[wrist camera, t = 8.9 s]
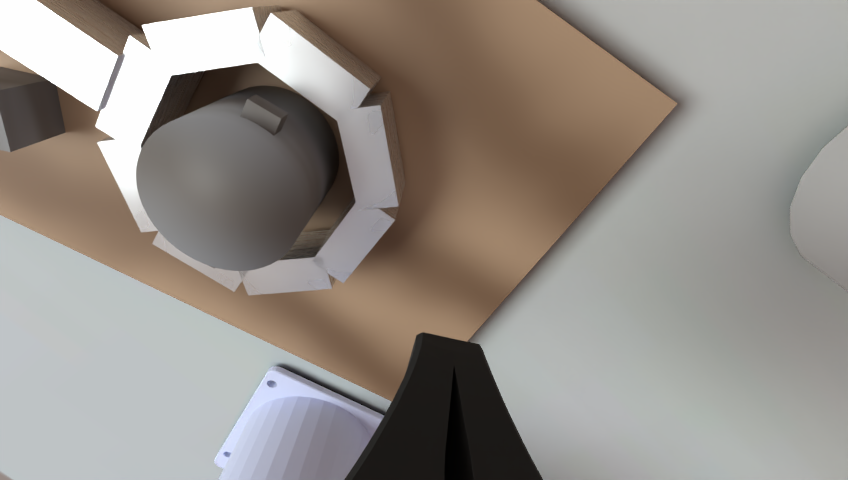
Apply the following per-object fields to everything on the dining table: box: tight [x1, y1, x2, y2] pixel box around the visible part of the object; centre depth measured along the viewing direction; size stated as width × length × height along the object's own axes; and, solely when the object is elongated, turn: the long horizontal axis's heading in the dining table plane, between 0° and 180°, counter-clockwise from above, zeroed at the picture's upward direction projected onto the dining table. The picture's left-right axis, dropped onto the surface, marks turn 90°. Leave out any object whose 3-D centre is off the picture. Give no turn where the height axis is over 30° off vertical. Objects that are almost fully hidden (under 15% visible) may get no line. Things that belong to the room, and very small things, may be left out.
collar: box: [0, 0, 405, 295], centre depth 15 cm, size 16×9×3 cm, turn 53°
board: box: [0, 0, 677, 401], centre depth 15 cm, size 18×22×6 cm
